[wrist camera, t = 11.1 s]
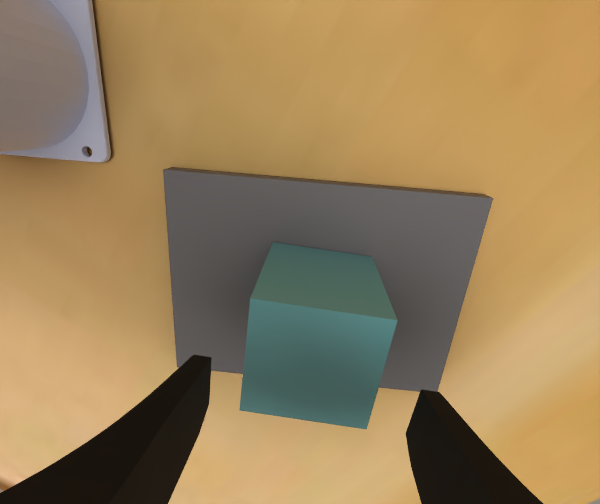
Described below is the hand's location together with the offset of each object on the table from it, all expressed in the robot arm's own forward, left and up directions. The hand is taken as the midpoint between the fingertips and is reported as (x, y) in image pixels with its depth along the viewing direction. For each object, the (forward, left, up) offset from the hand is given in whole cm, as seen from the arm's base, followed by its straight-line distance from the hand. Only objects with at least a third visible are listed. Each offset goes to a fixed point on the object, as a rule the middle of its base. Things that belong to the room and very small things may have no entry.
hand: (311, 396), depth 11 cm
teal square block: (0, 0, -7) cm, 7 cm away
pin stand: (0, 0, -8) cm, 8 cm away
